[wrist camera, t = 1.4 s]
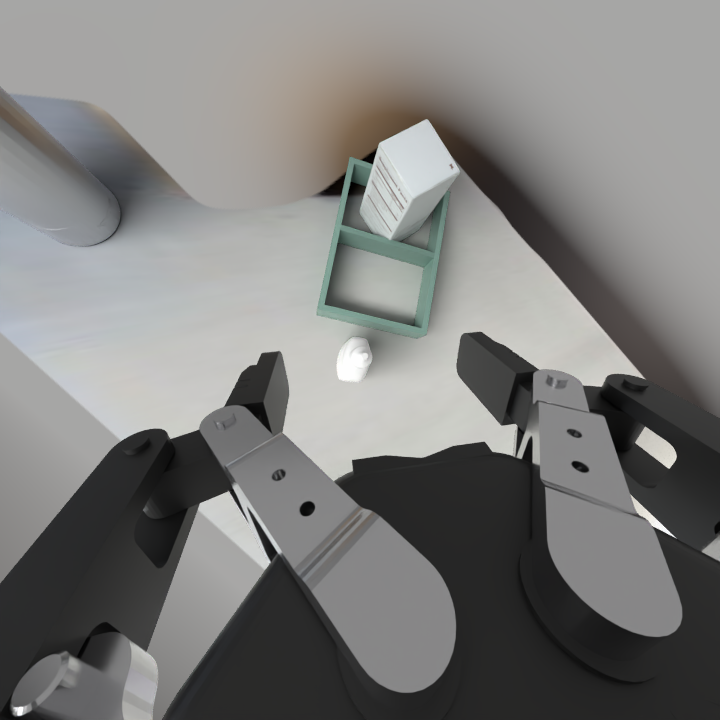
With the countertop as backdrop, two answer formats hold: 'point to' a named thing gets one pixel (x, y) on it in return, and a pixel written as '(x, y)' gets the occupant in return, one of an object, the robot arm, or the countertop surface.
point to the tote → (389, 248)
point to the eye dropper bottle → (354, 360)
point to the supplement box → (407, 182)
